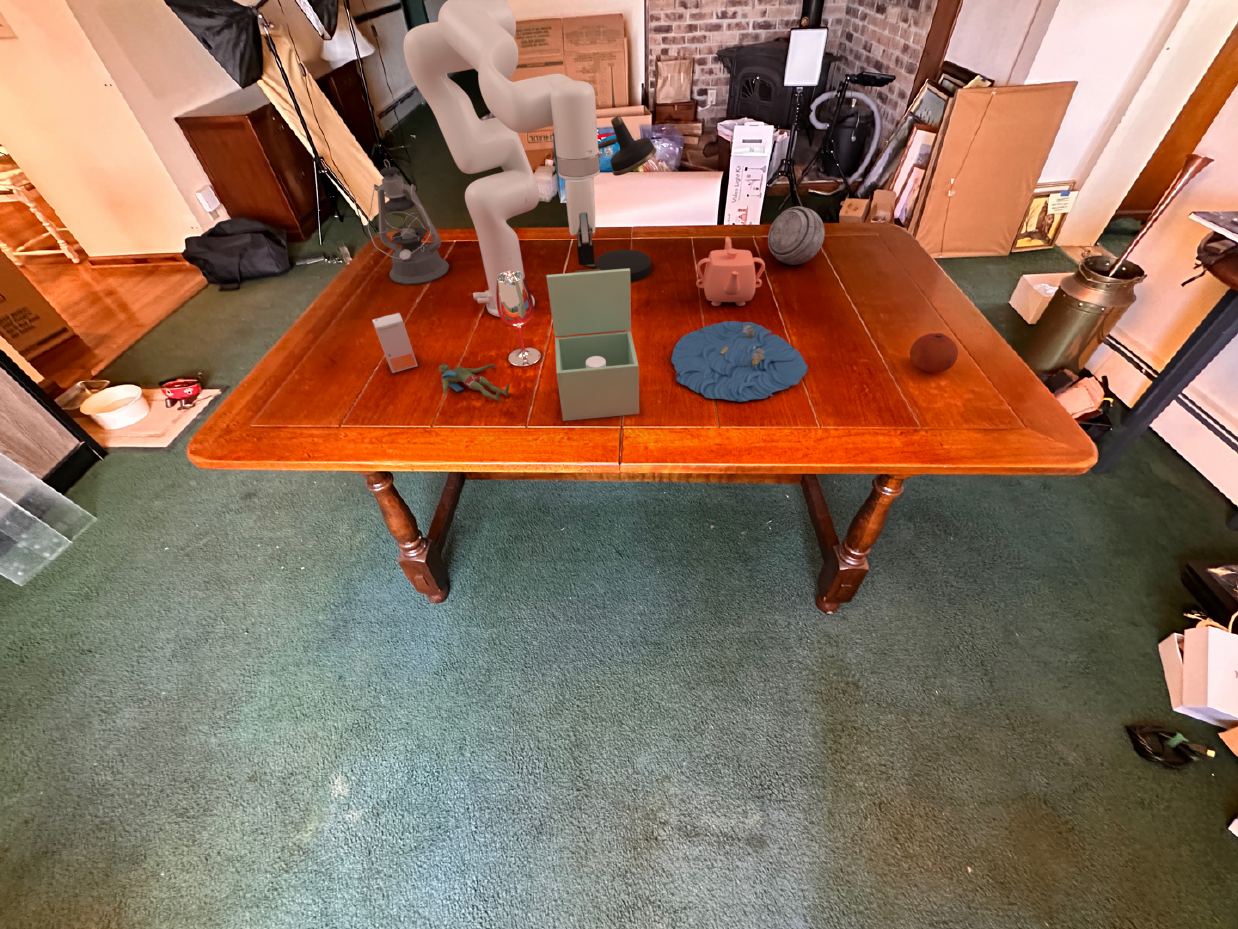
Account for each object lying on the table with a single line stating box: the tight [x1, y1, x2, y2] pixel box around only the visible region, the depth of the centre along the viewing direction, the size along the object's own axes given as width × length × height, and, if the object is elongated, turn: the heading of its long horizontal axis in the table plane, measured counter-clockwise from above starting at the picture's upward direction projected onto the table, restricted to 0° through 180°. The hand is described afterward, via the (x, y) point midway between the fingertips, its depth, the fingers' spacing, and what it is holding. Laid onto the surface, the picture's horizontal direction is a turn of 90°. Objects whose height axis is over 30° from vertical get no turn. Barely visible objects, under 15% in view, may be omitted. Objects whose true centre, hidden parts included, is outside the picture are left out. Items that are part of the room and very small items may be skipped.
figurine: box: [438, 363, 510, 402], centre depth 121 cm, size 16×4×18 cm
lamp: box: [576, 114, 657, 283], centre depth 147 cm, size 16×22×38 cm
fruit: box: [909, 332, 959, 374], centre depth 119 cm, size 9×9×8 cm
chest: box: [554, 330, 640, 422], centre depth 114 cm, size 13×16×12 cm
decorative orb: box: [767, 205, 826, 266], centre depth 154 cm, size 15×14×15 cm
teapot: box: [695, 236, 766, 307], centre depth 142 cm, size 15×17×13 cm
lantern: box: [367, 159, 450, 286], centre depth 152 cm, size 18×20×30 cm
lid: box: [546, 268, 632, 337], centre depth 110 cm, size 13×16×5 cm
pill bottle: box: [586, 356, 606, 368], centre depth 113 cm, size 5×5×10 cm
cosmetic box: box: [371, 312, 419, 374], centre depth 125 cm, size 6×4×12 cm
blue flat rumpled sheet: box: [670, 320, 809, 403], centre depth 123 cm, size 30×30×5 cm
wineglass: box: [496, 271, 542, 367], centre depth 123 cm, size 8×8×20 cm
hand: (586, 262), depth 113 cm, fingers closed
